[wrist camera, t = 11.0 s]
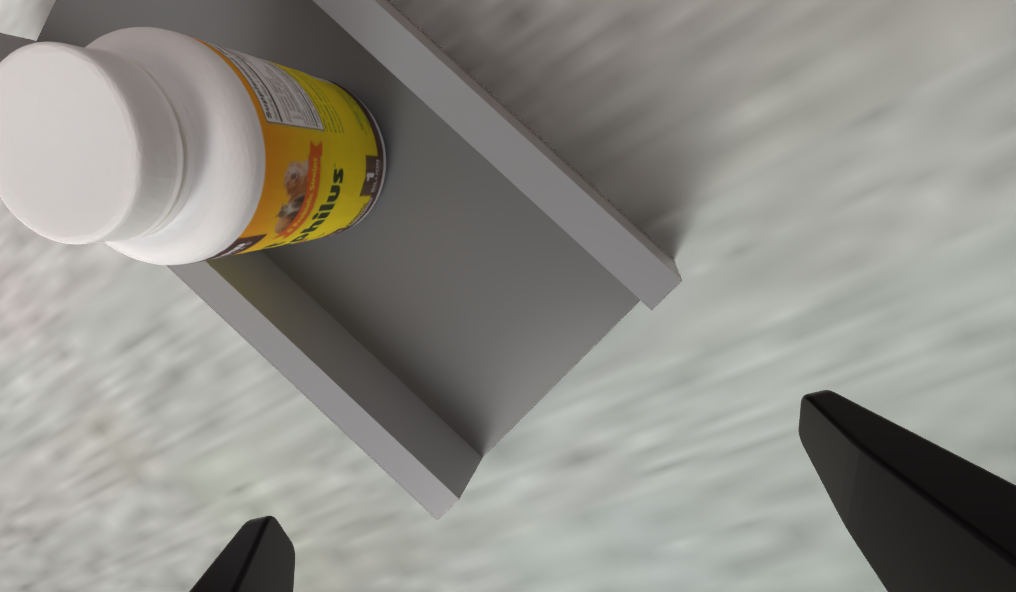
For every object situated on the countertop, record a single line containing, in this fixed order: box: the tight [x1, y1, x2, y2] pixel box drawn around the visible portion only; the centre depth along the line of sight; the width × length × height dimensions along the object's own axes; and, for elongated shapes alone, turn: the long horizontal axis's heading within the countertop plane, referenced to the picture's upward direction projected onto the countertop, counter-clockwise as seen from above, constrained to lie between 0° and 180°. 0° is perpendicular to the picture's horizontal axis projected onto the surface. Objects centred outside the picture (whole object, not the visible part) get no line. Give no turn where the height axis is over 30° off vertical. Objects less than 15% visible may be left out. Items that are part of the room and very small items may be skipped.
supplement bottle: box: [0, 27, 386, 265], centre depth 16 cm, size 6×6×10 cm
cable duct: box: [0, 0, 682, 520], centre depth 20 cm, size 24×11×4 cm, turn 49°
